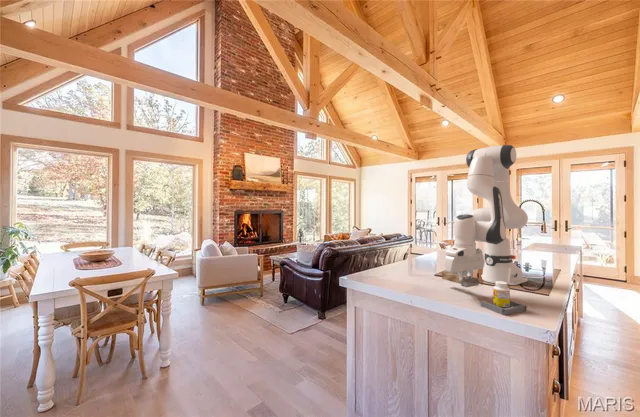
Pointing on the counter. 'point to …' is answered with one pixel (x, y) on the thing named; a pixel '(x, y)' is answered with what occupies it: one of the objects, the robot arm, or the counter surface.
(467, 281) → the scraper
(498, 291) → the supplement bottle
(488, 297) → the counter surface
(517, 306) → the frame
